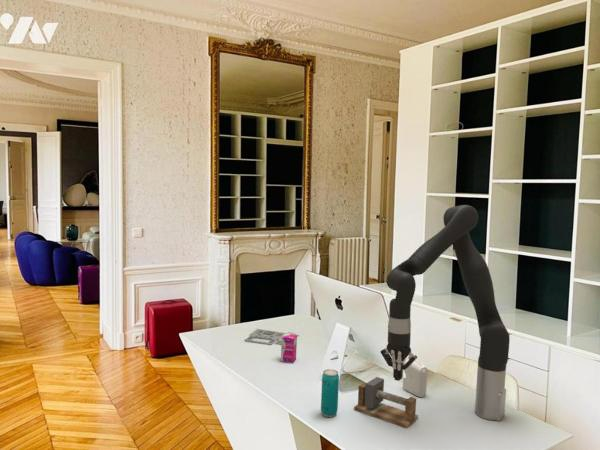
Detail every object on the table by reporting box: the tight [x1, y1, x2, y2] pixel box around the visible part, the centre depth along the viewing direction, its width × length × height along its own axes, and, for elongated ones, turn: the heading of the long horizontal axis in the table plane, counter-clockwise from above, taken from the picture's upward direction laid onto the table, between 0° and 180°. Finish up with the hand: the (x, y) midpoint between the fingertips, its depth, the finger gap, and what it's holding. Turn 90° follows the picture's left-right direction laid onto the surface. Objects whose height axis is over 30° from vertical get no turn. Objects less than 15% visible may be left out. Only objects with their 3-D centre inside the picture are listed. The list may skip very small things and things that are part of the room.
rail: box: [353, 382, 419, 429], centre depth 172 cm, size 20×9×8 cm, turn 53°
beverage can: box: [320, 368, 340, 418], centre depth 170 cm, size 6×6×15 cm
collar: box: [365, 376, 385, 408], centre depth 174 cm, size 3×8×8 cm, turn 143°
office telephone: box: [244, 328, 300, 346], centre depth 251 cm, size 23×3×20 cm
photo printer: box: [402, 359, 428, 398], centre depth 191 cm, size 10×4×12 cm, turn 29°
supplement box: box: [280, 334, 298, 364], centre depth 220 cm, size 6×6×12 cm
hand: (397, 379), depth 168 cm, fingers closed
